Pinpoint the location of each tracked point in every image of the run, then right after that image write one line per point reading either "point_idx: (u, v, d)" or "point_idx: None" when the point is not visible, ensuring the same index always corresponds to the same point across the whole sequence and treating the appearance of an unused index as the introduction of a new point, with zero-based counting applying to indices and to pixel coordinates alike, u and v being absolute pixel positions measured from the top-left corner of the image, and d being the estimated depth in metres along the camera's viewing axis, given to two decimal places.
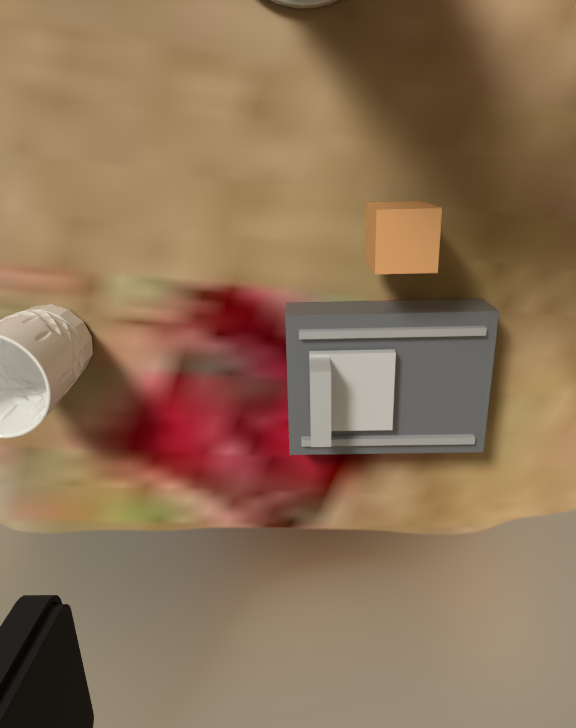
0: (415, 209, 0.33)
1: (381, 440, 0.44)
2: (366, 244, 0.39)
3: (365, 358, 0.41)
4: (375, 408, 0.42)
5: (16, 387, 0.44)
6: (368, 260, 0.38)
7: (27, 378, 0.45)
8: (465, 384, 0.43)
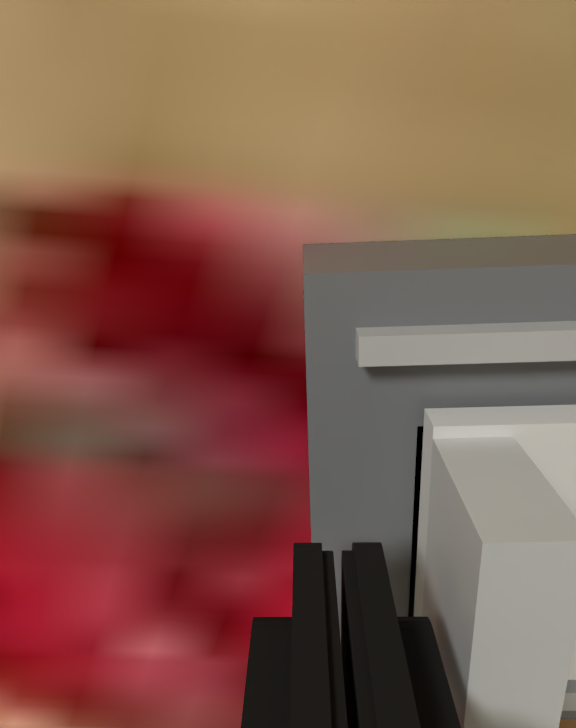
0: None
1: None
2: None
3: None
4: None
5: None
6: None
7: None
8: None
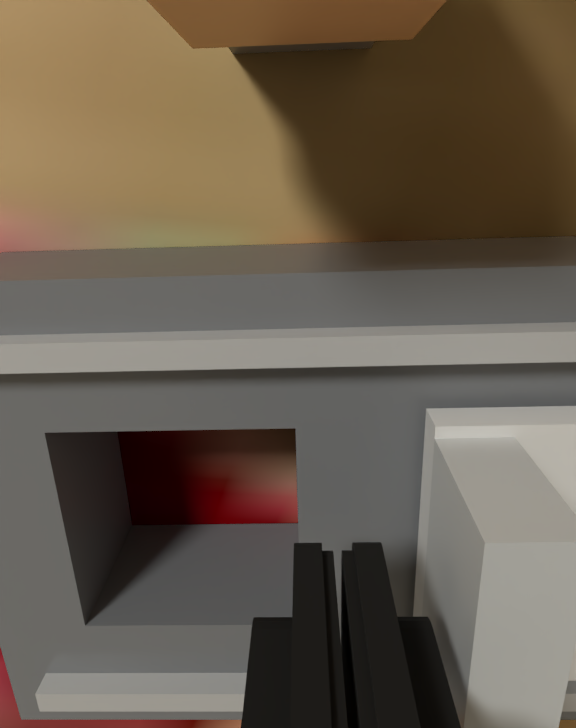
0: None
1: None
2: None
3: None
4: None
5: None
6: None
7: None
8: None
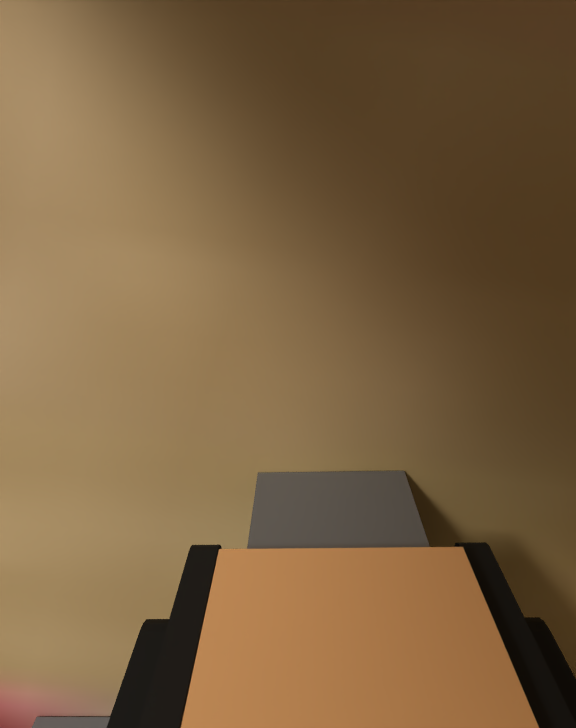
0: None
1: None
2: None
3: None
4: None
5: None
6: None
7: None
8: None
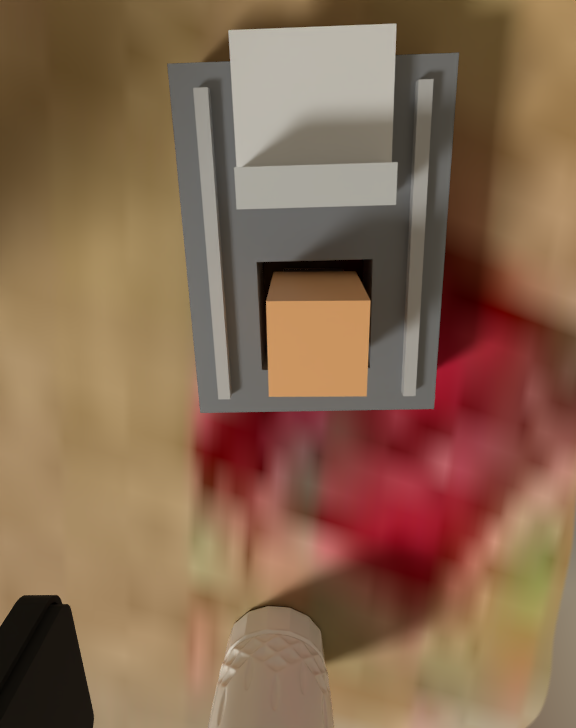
0: (328, 301, 0.21)
1: (412, 264, 0.25)
2: None
3: (242, 94, 0.22)
4: (346, 66, 0.21)
5: None
6: None
7: None
8: None
